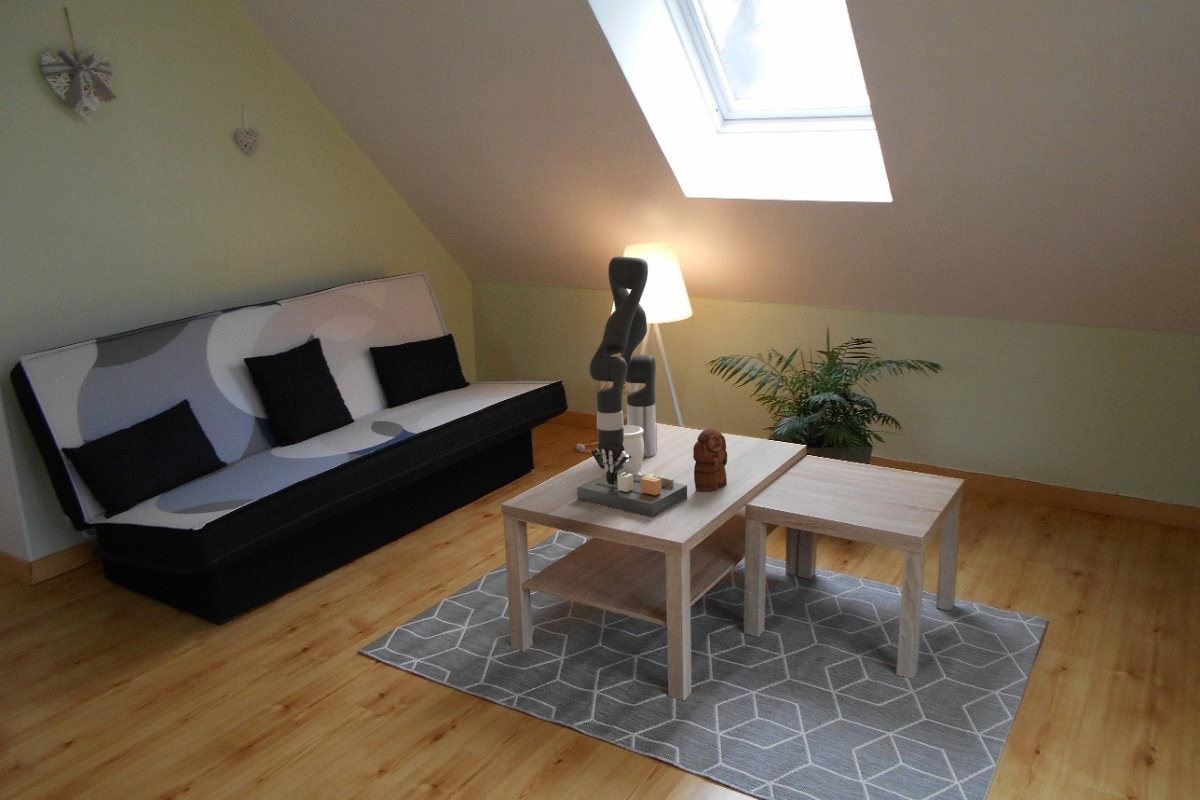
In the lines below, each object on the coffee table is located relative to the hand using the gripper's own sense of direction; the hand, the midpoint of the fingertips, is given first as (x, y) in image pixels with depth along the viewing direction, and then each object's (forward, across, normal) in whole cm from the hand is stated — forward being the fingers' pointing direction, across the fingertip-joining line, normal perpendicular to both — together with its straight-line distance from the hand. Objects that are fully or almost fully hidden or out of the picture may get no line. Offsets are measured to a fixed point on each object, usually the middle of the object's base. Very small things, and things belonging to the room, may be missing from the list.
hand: (611, 483), depth 288 cm
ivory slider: (+1, -5, 0) cm, 5 cm away
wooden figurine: (+5, -19, -25) cm, 31 cm away
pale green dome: (+1, -7, -9) cm, 11 cm away
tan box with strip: (+1, -12, -2) cm, 13 cm away
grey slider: (+1, +4, -8) cm, 9 cm away
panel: (+5, -4, -4) cm, 8 cm away
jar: (+5, +8, -20) cm, 22 cm away
